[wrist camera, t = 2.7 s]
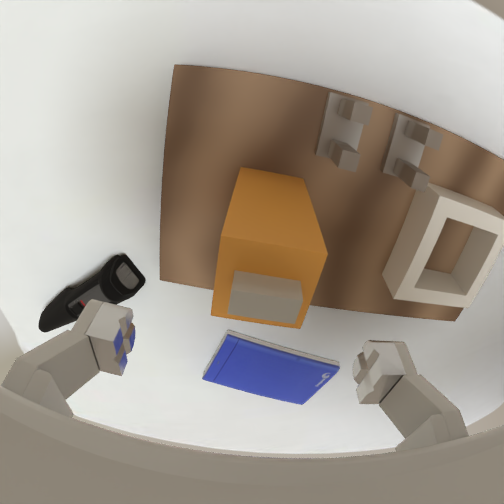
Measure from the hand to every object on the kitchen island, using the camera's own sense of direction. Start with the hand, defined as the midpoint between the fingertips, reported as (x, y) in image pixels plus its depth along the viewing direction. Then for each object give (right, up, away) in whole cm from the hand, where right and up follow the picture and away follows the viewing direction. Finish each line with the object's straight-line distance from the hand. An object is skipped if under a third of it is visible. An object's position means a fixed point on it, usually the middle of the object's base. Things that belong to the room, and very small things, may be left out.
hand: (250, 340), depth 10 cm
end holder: (+15, +4, +11) cm, 19 cm away
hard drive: (+2, -9, +22) cm, 24 cm away
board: (+8, +6, +11) cm, 15 cm away
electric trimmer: (-16, -1, +17) cm, 24 cm away
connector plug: (+1, +6, +10) cm, 12 cm away
